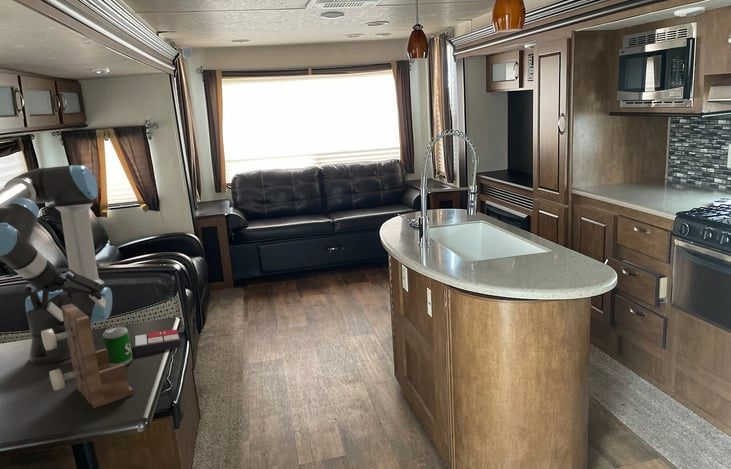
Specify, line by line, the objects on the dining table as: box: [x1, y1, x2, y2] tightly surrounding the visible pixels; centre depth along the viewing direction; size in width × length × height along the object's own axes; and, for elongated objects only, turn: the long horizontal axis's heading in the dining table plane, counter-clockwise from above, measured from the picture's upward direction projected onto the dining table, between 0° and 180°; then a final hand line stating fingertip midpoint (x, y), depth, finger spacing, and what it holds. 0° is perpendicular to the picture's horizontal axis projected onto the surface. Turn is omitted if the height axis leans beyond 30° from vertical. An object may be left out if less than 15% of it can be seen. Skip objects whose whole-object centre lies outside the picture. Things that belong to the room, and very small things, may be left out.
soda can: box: [102, 325, 133, 367], centre depth 187 cm, size 8×8×12 cm
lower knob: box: [49, 368, 82, 392], centre depth 162 cm, size 6×8×6 cm
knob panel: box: [61, 304, 134, 409], centre depth 166 cm, size 18×11×26 cm, turn 40°
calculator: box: [133, 328, 182, 357], centre depth 200 cm, size 11×4×15 cm
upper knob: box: [41, 329, 74, 351], centre depth 159 cm, size 6×8×6 cm
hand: (83, 311), depth 171 cm, fingers open, 13 cm apart
